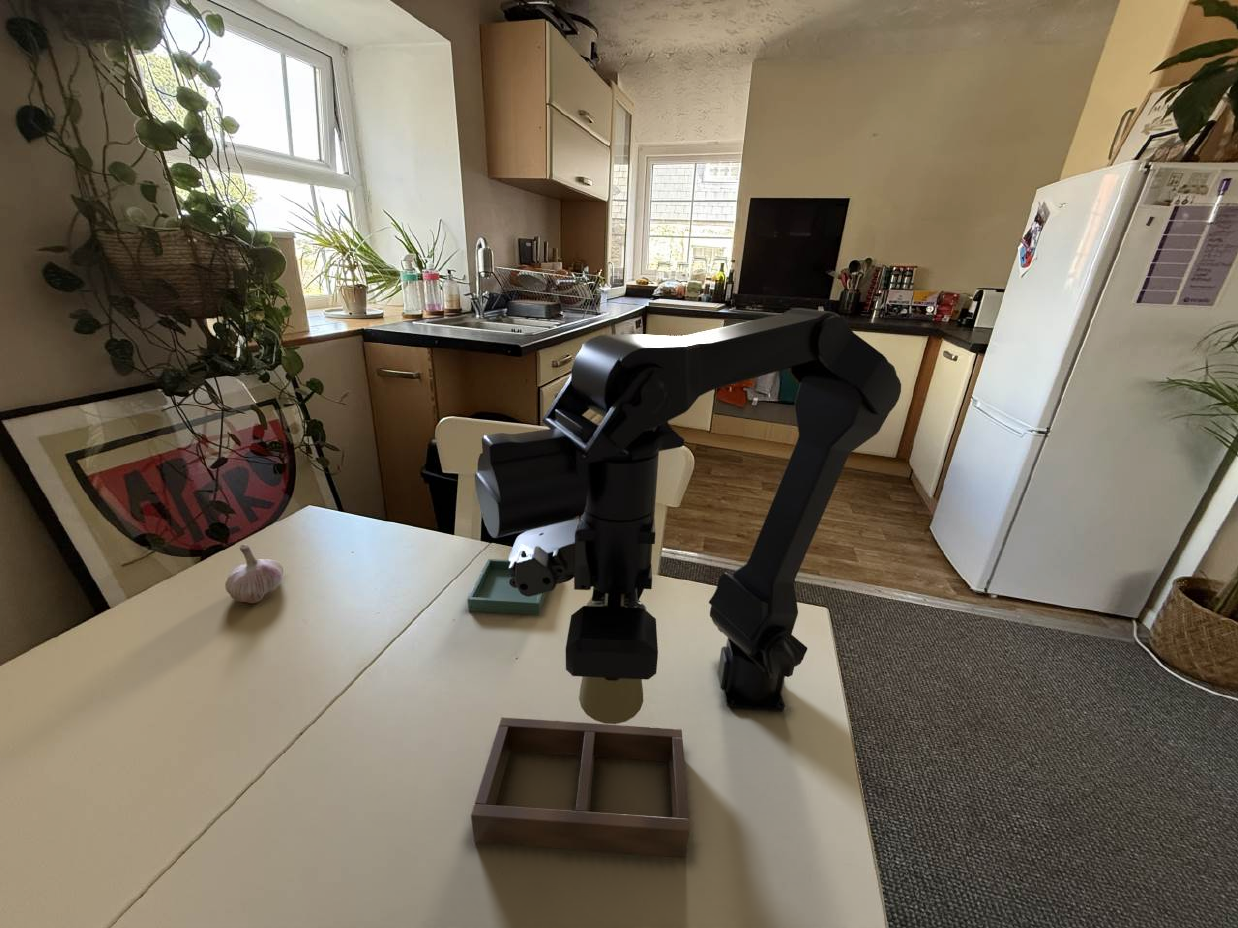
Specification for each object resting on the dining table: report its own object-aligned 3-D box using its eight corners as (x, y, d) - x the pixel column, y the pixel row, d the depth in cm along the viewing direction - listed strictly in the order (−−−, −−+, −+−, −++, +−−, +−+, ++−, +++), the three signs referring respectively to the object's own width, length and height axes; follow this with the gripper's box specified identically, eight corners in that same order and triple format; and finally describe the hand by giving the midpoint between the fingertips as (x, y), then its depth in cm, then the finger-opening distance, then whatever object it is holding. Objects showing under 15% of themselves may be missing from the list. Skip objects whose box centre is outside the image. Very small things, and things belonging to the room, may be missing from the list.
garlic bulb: (253, 613, 67) (238, 563, 64) (213, 601, 69) (196, 552, 66) (301, 581, 74) (289, 534, 71) (263, 571, 76) (250, 526, 72)
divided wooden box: (678, 753, 50) (681, 728, 49) (686, 857, 41) (690, 831, 40) (503, 741, 51) (501, 716, 49) (473, 842, 42) (470, 815, 41)
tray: (551, 572, 78) (551, 562, 77) (539, 615, 69) (539, 603, 68) (489, 569, 78) (488, 558, 78) (468, 610, 69) (467, 599, 68)
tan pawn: (638, 729, 43) (645, 629, 39) (571, 717, 44) (570, 617, 40) (647, 676, 49) (654, 583, 44) (587, 666, 49) (588, 574, 45)
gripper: (536, 455, 47) (541, 590, 53) (481, 568, 30) (497, 749, 36) (653, 460, 47) (644, 594, 53) (665, 576, 30) (650, 756, 36)
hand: (612, 658), depth 45 cm, fingers closed on tan pawn, 4 cm apart
